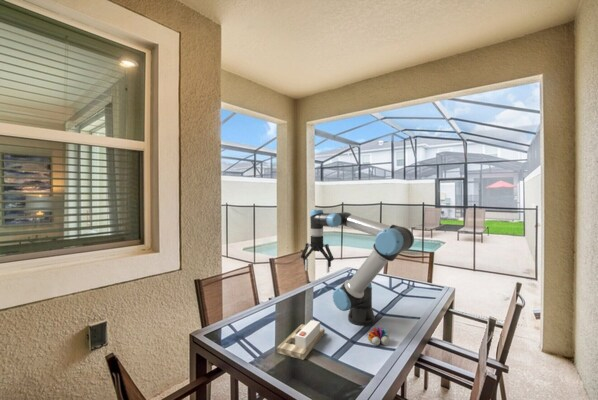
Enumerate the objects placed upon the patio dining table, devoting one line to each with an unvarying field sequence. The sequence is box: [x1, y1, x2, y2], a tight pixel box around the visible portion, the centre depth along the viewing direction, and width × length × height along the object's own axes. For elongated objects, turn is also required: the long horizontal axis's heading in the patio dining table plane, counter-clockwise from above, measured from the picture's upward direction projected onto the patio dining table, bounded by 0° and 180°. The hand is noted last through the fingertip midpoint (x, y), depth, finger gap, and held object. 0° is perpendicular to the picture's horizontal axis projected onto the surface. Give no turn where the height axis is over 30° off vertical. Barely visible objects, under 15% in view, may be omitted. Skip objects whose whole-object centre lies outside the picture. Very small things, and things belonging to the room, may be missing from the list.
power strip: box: [295, 319, 321, 349], centre depth 133 cm, size 5×18×8 cm, turn 154°
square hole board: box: [276, 323, 326, 360], centre depth 135 cm, size 13×26×2 cm, turn 154°
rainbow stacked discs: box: [367, 326, 390, 346], centre depth 135 cm, size 8×10×7 cm
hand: (317, 271), depth 166 cm, fingers open, 13 cm apart
